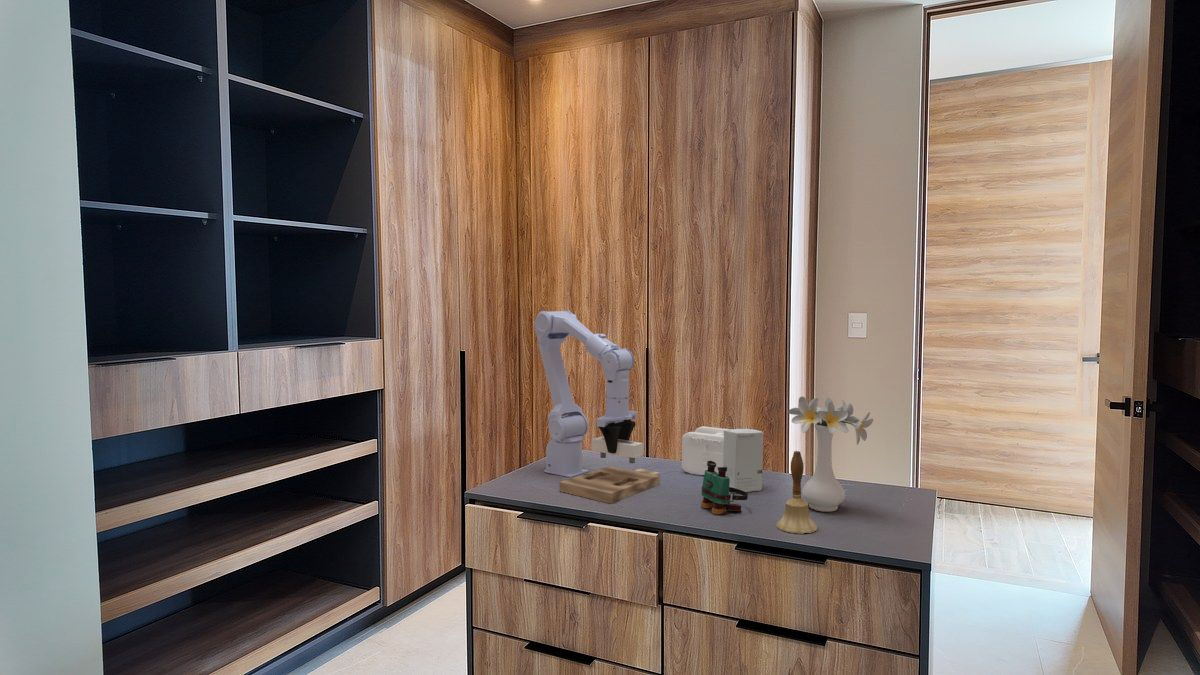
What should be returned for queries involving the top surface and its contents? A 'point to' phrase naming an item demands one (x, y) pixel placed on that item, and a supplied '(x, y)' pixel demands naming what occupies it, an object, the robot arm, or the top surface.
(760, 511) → the top surface
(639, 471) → the block
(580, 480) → the keyhole board
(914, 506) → the top surface
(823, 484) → the flower vase
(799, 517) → the hand bell
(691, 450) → the white rounded box
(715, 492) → the binoculars
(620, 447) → the white rectangular block
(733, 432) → the skincare box
